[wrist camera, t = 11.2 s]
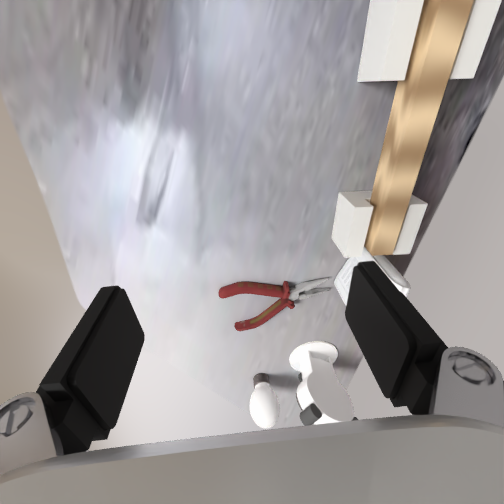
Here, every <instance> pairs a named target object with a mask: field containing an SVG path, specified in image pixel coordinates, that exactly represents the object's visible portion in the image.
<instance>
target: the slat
mask: <svg viewBox="0 0 504 504" xmlns="http://www.w3.org/2000/svg"><path fill="white" fill-rule="evenodd" d="M473 1H474V0H424V2H423V6H422V10H421V14H420V18H419V22H418V27H417V31H416V35H415V39H414V43H413V47H412V51H411V55H410V59H409V63H408V68H407V72H406V76H405V80H398V84H397V88H396V92H395V96H394V101H393V105H392V109H391V113H390V118H389V122H388V126H387V131H386V135H385V139H384V143H383V148H382V152H381V156H380V161H379V165H378V169H377V173H376V178H375V182H374V186H373V191H372V195H371V199H370V204H371V205H372V206H373V211H372V215H371V219H370V223H369V227H368V231H367V235H366V239H365V244H364V247H365V248H366V249H367V250H368V251H369V253H370V254H371V255H372V256H377V255H392V254H393V251H394V248H395V245H396V242H397V238H398V235H399V232H400V229H401V226H402V223H403V220H404V216H405V213H406V210H407V207H408V204H409V201H410V198H411V195H412V191H413V188H414V185H415V182H416V179H417V176H418V173H419V170H420V166H421V163H422V160H423V157H424V154H425V151H426V148H427V145H428V141H429V138H430V135H431V132H432V129H433V126H434V123H435V120H436V116H437V113H438V110H439V107H440V104H441V101H442V98H443V95H444V91H445V88H446V85H447V82H448V79H449V76H450V73H451V70H452V66H453V63H454V60H455V57H456V54H457V51H458V48H459V45H460V41H461V38H462V35H463V32H464V29H465V26H466V23H467V20H468V16H469V13H470V10H471V7H472V4H473Z"/></svg>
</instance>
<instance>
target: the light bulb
mask: <svg viewBox="0 0 504 504" xmlns="http://www.w3.org/2000/svg"><path fill="white" fill-rule="evenodd" d="M253 380H254V389H255V390H254V392H253V393H252V396H251V399H250V413H251V416H252V418H253V420H254V422H255V423H256V424H257V425H258V426H259V427H261V428H265V429H267V428H270V427H272V426H273V425H274V424H275V423H276V422H277V419H278V417H279V411H280V406H279V400H278V398H277V395H276V394H275V392H274V391H273V390H272V389H271V388H270V384H269V380H268V376H267V375H266V374H257V375H256V376H255V377H254V379H253Z"/></svg>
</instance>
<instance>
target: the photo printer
mask: <svg viewBox="0 0 504 504" xmlns="http://www.w3.org/2000/svg"><path fill="white" fill-rule="evenodd" d="M365 261H375V262H376V263H377V264H378V266H379V267H380V268H381V269H382V271H383V272H384V273H385V274H386V275H387V277H388V278H389V279H390V280H391V281H392V283H393V284H394V285H395V286H396V287H397V289H398V290H399V291H400V292H402V293H403V294H404V295H405V297H406V298H407V296H408V293H409V291H410V285H409V283H408V282H407V281H406V280H405V279H404V277H403V276H402V275H401V274H400V273H399V272H398V271H397V269H396V268H395V267H394V266H393V265H392V264H391V263H390V261H389V260H388V259H387V258H386V257H385V256H384V255H377V256H372V255H371V254H370V253H369V251H368V250H367V249H366V248H365V247H364V248H363V252H362V256H361V257H350V258H349V259H348V260H347V262H346V263H345V265H344V266H343V268H342V269H341V271H340V272H339V274H338V275H337V277H336V279H335V281H334V284H335V286H336V288H337V290H338V292H339V294H340V296H341V298H342V299H343V301H344V303H345V305H347V300H348V294H349V289H350V283H351V278H352V272H353V268H354V266H357V264H358V263H359V262H365Z"/></svg>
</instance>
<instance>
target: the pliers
mask: <svg viewBox="0 0 504 504" xmlns="http://www.w3.org/2000/svg"><path fill="white" fill-rule="evenodd" d="M327 280H329V278H324V279H319V280H314V281H308V282H303V283H300V284H297V285H295V287H296V288H295V287H289V285H288V282H287V281H284V283H283V286H276V285H269V284H262V283H255V282H237V283H234V284H231V285H227V286H224V287H222V288H220V290H219V297H220V298H227V297H230V296H234V295H237V294H257V295H264V296H272V297H280V299H279V300H278V301H277V302H275V303H274V304H273V305H271V306H270V307H269V308H268V309H266V310H265V311H264V312H262V313H261V314H260V315H258V316H256V317H254V318H252V319H249V320H244V321H240V322H236V323H235V329H236V330H237V331H244V330H248V329H253V328H256V327H258V326H260V325H262V324H264V323H265V322H267V321H268V320H269V319H271V318H272V317H273V316H275V315H276V314H277V313H279V312H280V311H281V310H283V309H284V308H285V307H287V306H288V307H289V308H290V309H293V308H294V307H295V305H294V302H293V301H294V300H297V299H298V298H299V300H302V299H307V298H310V297H312V296H315V295H318V294H320V293H323V292H326V291H329V290H331V289H330V288H321V289H312V288H314V287H316V286H318V285H320V284H321V283H323V282H325V281H327ZM300 292H301V293H300Z"/></svg>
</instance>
